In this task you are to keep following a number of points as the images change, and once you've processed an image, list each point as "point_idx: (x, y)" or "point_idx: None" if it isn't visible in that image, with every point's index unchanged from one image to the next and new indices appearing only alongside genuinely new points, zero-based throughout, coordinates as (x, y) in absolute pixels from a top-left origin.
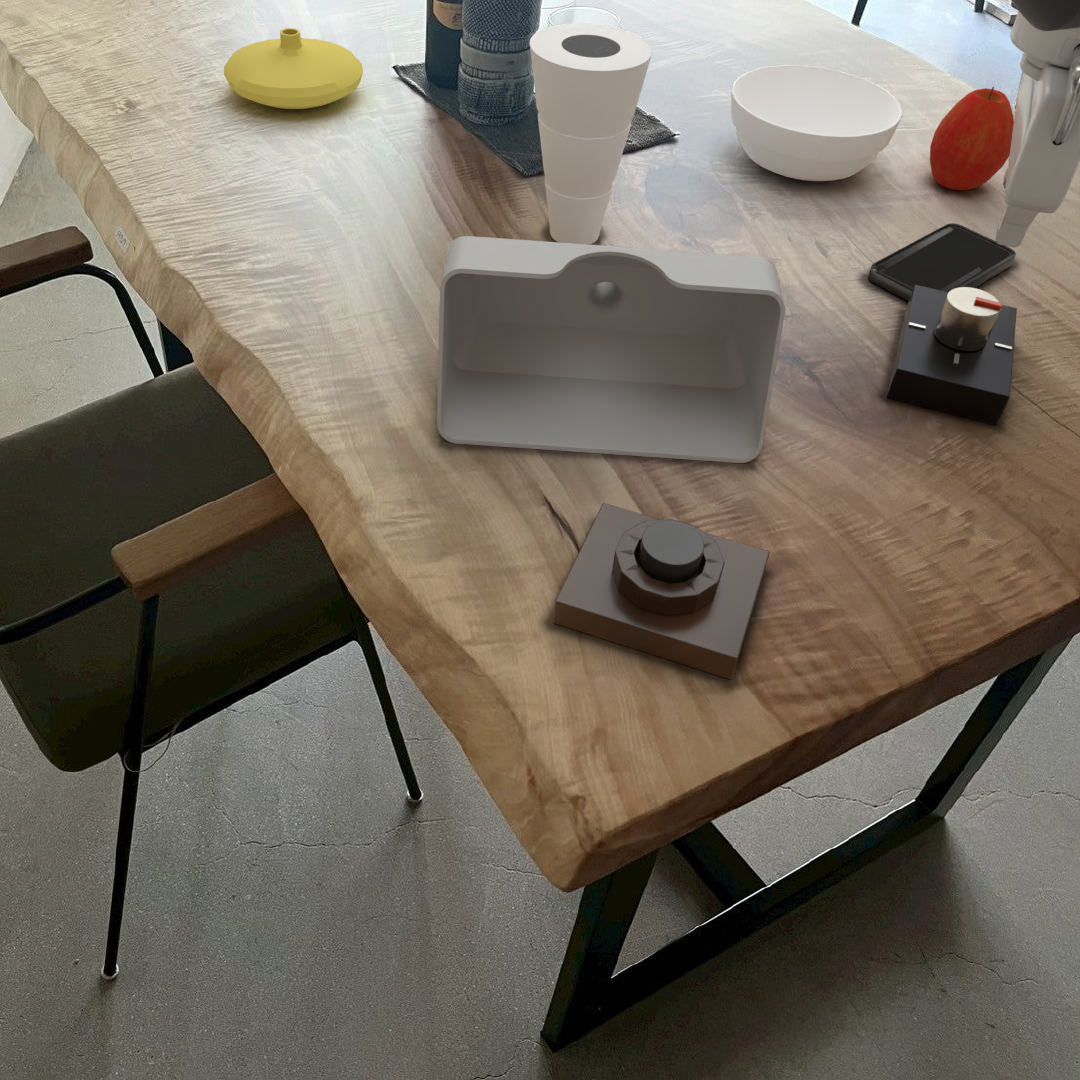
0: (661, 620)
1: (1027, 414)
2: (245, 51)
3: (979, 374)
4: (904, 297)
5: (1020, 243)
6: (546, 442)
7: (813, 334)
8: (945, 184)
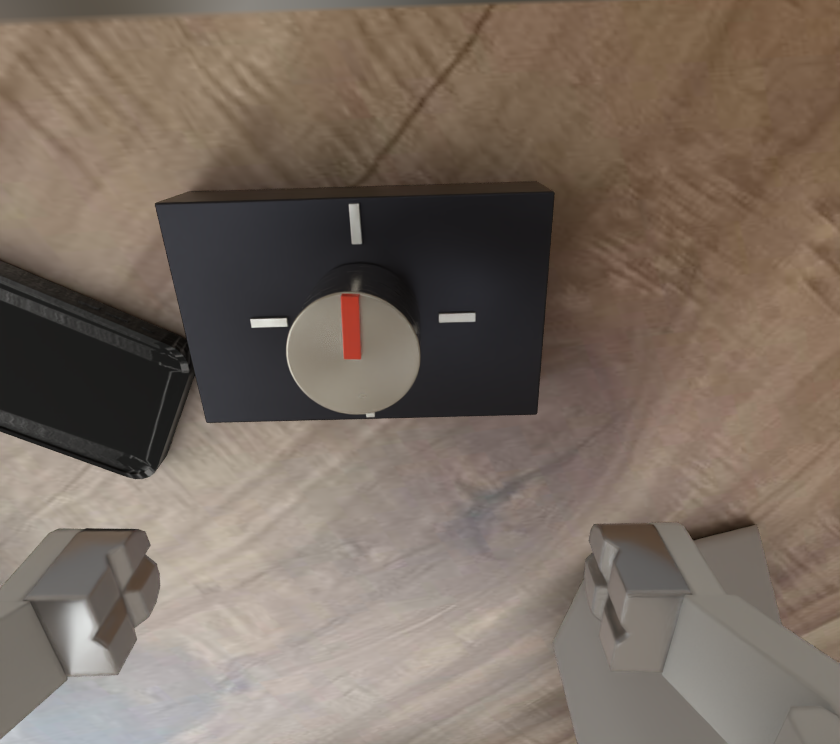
0: None
1: (468, 116)
2: None
3: (493, 265)
4: (184, 401)
5: (683, 529)
6: None
7: (388, 507)
8: None
